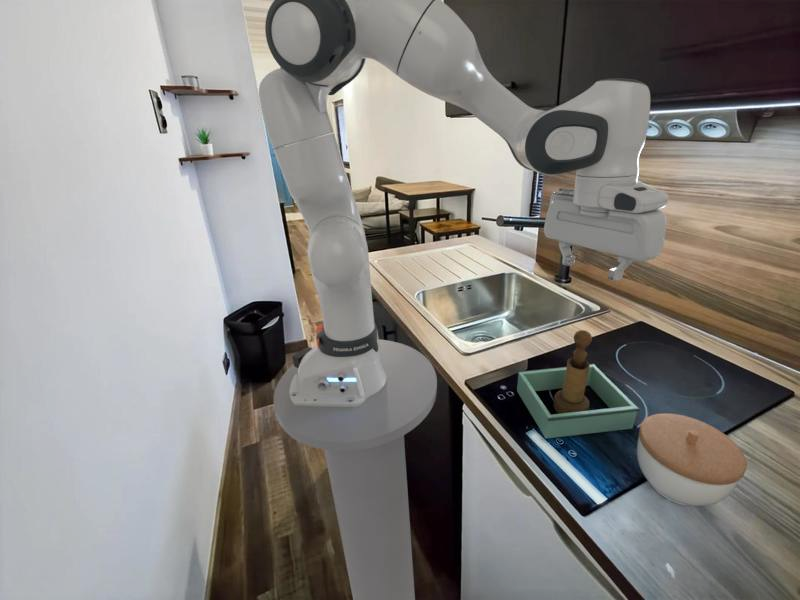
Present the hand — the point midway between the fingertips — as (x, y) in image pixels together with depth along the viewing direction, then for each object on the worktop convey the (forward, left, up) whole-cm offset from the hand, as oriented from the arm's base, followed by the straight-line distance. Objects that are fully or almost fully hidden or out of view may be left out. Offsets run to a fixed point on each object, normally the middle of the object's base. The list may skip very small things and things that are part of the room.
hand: (590, 271), depth 65 cm
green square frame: (-1, -3, -29) cm, 29 cm away
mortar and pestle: (-1, -3, -29) cm, 29 cm away
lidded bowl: (+6, -22, -29) cm, 37 cm away
